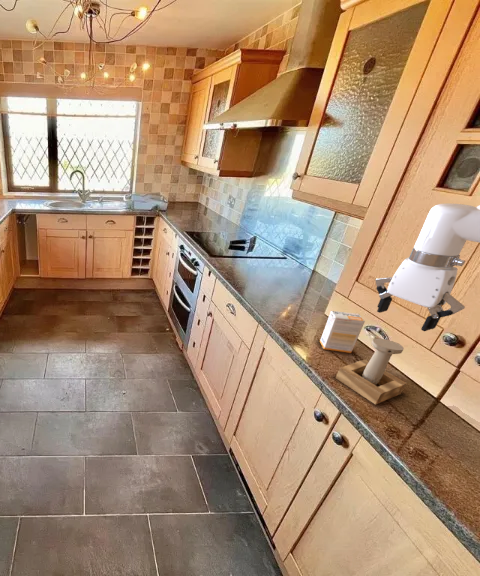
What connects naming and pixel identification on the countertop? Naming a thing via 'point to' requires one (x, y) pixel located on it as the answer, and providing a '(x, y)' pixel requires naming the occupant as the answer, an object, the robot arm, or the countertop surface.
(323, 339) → the supplement box
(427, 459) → the countertop surface
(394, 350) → the handle
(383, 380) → the socket block
